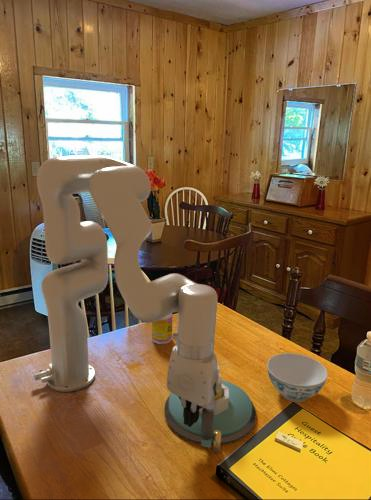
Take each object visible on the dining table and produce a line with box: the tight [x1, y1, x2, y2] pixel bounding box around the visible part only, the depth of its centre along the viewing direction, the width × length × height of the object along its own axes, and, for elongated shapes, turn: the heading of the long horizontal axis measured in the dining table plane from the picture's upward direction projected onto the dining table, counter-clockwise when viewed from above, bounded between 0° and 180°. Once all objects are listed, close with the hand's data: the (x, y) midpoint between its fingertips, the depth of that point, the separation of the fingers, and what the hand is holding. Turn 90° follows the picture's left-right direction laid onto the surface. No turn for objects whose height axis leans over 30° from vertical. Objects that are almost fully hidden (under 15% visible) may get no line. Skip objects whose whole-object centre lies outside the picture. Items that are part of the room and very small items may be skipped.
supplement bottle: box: [151, 313, 173, 345], centre depth 128 cm, size 7×7×13 cm
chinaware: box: [266, 352, 329, 403], centre depth 102 cm, size 15×15×8 cm
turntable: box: [169, 379, 253, 448], centre depth 92 cm, size 24×20×9 cm
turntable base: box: [163, 393, 257, 455], centre depth 95 cm, size 22×23×5 cm
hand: (190, 421), depth 84 cm, fingers closed
